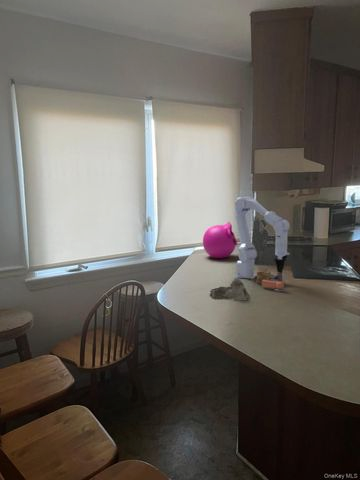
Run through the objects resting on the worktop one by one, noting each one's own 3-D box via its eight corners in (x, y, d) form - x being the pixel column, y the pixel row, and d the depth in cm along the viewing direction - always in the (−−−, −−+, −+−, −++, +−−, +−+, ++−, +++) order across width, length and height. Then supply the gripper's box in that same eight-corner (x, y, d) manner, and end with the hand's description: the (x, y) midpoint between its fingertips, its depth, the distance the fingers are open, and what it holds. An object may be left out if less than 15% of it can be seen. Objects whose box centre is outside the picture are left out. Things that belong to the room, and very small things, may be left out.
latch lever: (282, 290, 165) (282, 283, 164) (261, 286, 171) (261, 280, 170) (284, 288, 168) (284, 282, 167) (263, 284, 173) (263, 279, 173)
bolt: (259, 282, 180) (259, 271, 180) (260, 280, 184) (260, 269, 183) (282, 284, 176) (282, 273, 176) (282, 282, 180) (283, 271, 179)
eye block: (256, 283, 179) (257, 271, 178) (258, 279, 186) (259, 268, 185) (268, 284, 177) (269, 272, 176) (270, 280, 184) (270, 269, 183)
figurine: (239, 261, 233) (240, 224, 229) (203, 261, 233) (203, 224, 229) (234, 254, 256) (235, 220, 252) (202, 254, 256) (202, 220, 252)
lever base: (273, 291, 166) (273, 289, 166) (274, 288, 171) (274, 286, 171) (284, 292, 164) (284, 290, 164) (285, 289, 169) (285, 287, 169)
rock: (249, 292, 163) (248, 275, 159) (249, 307, 155) (248, 289, 150) (211, 292, 168) (209, 275, 163) (209, 307, 159) (207, 290, 154)
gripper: (288, 246, 167) (287, 274, 170) (290, 242, 181) (289, 267, 183) (273, 246, 170) (272, 273, 172) (276, 241, 183) (275, 266, 185)
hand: (280, 270), depth 178 cm, fingers open, 7 cm apart
